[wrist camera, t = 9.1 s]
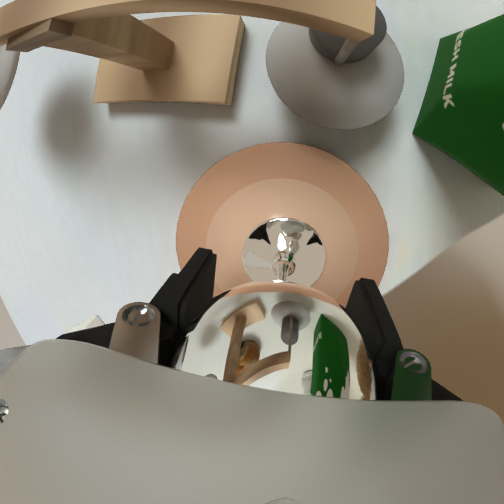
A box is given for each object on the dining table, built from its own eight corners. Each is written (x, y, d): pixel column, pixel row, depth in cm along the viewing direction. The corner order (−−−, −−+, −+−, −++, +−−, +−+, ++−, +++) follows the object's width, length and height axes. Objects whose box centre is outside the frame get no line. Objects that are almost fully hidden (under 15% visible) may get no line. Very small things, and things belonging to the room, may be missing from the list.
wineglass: (359, 242, 14) (450, 466, 3) (299, 318, 17) (288, 527, 6) (264, 182, 14) (157, 382, 3) (212, 271, 16) (109, 471, 5)
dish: (405, 169, 14) (413, 173, 13) (348, 340, 19) (350, 352, 18) (192, 128, 15) (184, 128, 13) (180, 309, 19) (174, 320, 18)
